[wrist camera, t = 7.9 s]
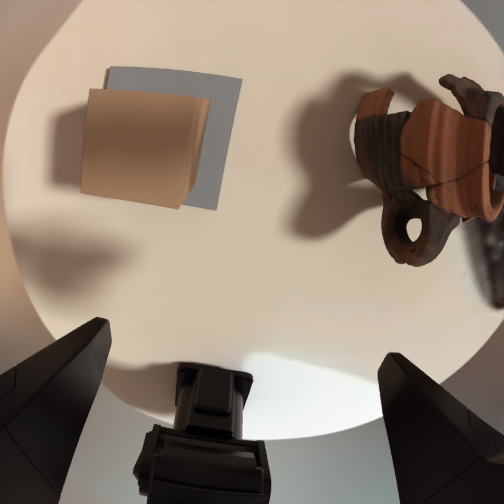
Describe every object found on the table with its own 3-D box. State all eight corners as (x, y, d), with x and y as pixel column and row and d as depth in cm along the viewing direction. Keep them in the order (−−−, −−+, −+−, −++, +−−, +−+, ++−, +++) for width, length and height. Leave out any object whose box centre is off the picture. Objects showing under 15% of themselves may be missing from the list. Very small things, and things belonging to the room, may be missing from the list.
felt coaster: (216, 208, 19) (216, 210, 19) (98, 188, 19) (96, 190, 18) (242, 79, 16) (242, 79, 16) (113, 67, 15) (110, 66, 15)
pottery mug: (363, 47, 15) (487, 40, 9) (430, 116, 21) (521, 129, 14) (308, 230, 17) (438, 287, 11) (391, 255, 23) (482, 296, 16)
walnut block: (196, 182, 18) (178, 209, 14) (118, 170, 18) (80, 193, 13) (211, 99, 16) (196, 97, 12) (128, 90, 16) (89, 88, 11)
